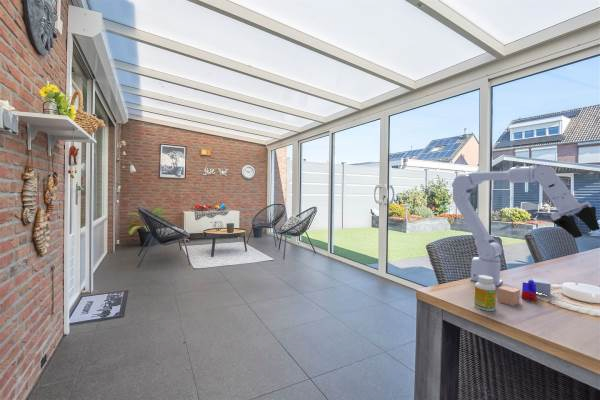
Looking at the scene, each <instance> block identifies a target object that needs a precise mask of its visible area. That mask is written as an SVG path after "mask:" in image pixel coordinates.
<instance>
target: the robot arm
mask: <svg viewBox="0 0 600 400" xmlns="http://www.w3.org/2000/svg"><path fill="white" fill-rule="evenodd" d="M501 180H502V181H503V180H504V181H505V180H507V181H509V182H510V183H511V184H513V183H514V184H517V183H518V184H521V183H534V182H538V183H539V185H540V186H541V187H542V190H543V192H544V193H545V194H546V196H547V197H548V199H549V200H550V201H551V203H552V204H553V206H554V207H555V209H556V210H557V211H558V212H556V213H552V214H550V215H549V216H550V218H551V219H552V220H553V221H552V222H553V224H554V225H556V226H558V227H560V228H562V229H563V230H564V231H566V232H567V233H569V235H570V236H572V237H573V238H574V239H577V238H580V237H583V234H582V232H581V230H580V228H579V227H578V225H577V223H576V219H575V216H576V217H578V219H579V220H581V221H582V222H583V223H584V224H585V225H586V227H587V228H588V229H589V230H590V231H591V232H594V231H595V232H596V231H598V230H600V225H599V222H598V219H597V214H596V213H597V212H596V211H597V208H596V207H595V206H593V205H591V203H590V202H589V201H584V202H582V203H579V201H578V200H577V198H576V197H575V196H574V195H573V193H572V192H571V191H570V189H569V188H568V187H567V185H566V184H565V182H564V181H563V180H562V179H561V178H560V176H558V175H557V172H556V170H555V168H554V167H552V166H550V165H544V164H543V165H538V164H532V165H531V166H521V165H515V166H514V167H511V168H509V169H508V170H507V171H505V170H504V171H479V172H477V171H476V172H470V173H466V174H458V175H457V176H456V177H454V179H453V182H452V184H451V187H452V201H453V202H454V204H455V207H456V208H457V210H458V211H459V213H460V215H461V217H462V219H463V220H464V222H465V224H466V225H467V227H468V228H469V230H470V233H471V234H472V236H473V237H474V244H475V247H476V248H477V249H476V252H477V255H478V256H477V257H476V256H474V257H472V260H471V264H470V265H471V266H470V278H469V280H470V281H474V282H479V281H478V276H479V275H487V276H491V277H493V283H492V284H493V285H495V286H500V285H501V283H503V279H501V258H500V256H501V255H502V253H503V246H502V245H501V244H500V243H499V242H498V241H497V240H496V239H495V238H494V237H493V236H492V234H490V233H489V232H488V231H487V230H488V229H486V226H485V225H484V224H483V222H482V220H481V218H480V217H479V215H478V213H477V212H476V210H475V209H474V207H473V205H472V203H471V202H470V200H469V198H470V195H471V194H472V192H473V191H474V190H475V189H476V188H477V186H478V185H481V184H482V183H484V182H486V181H487V182H488V181H501ZM570 211H571V212H570ZM573 214H574V215H575V216H574V215H573Z"/></svg>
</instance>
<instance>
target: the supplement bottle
mask: <svg viewBox="0 0 600 400" xmlns="http://www.w3.org/2000/svg"><path fill="white" fill-rule="evenodd" d="M478 281H479V282H478ZM478 281H476V282H475V284H474V285H475V286H474V300H473V301H474V304H473V305H474V306H475V308H477V309H478V308H479V310H481V309H482V310H481V311H485V310H486V312H494V311H495V309H496V298H497V287H496V285H493V284H492V283H493V277H491V276H487V275H479V276H478Z"/></svg>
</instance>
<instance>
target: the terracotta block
mask: <svg viewBox="0 0 600 400" xmlns="http://www.w3.org/2000/svg"><path fill="white" fill-rule="evenodd" d="M520 292H521V289H519V288H515V287H510V286H507V285H502V286H499V287H497V295H496V298H497V300H496V301H497V302H499V303H502V304H505V305H508V306H511V307H514V306H516V305H518V304H520V297H521V296H520Z"/></svg>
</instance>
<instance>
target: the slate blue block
mask: <svg viewBox="0 0 600 400" xmlns="http://www.w3.org/2000/svg"><path fill="white" fill-rule="evenodd" d="M531 280H532V281H534V284H536V292H538V293H542V294H545V295H547V296H546V297H548V296H550V297H551V287H552V286H551V285H552V283H550V281H549V280H548V279H547V280H546V279H539V278H533V277H532V278H531Z"/></svg>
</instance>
